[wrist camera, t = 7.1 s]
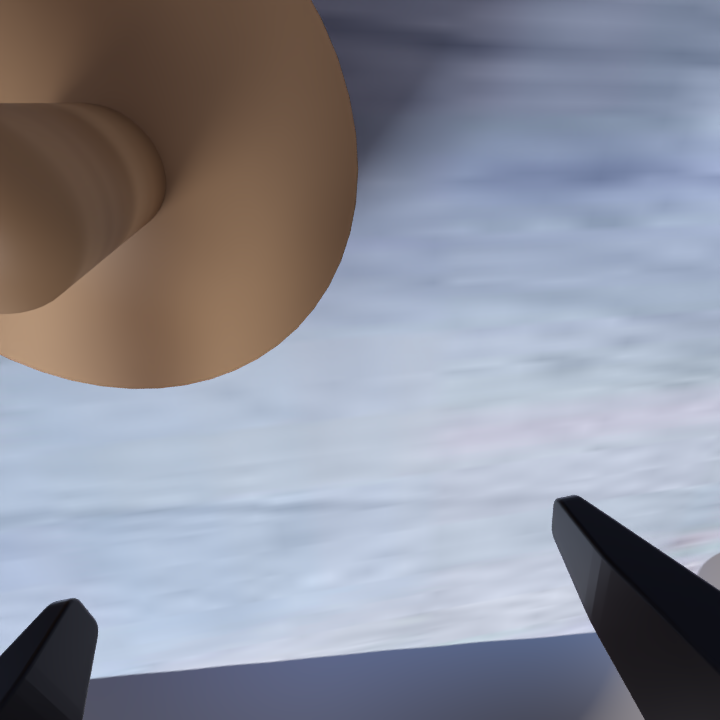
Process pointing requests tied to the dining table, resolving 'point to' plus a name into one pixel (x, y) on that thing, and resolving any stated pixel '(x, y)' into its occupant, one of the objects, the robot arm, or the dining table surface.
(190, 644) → the dining table surface
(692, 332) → the dining table surface
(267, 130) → the lid
